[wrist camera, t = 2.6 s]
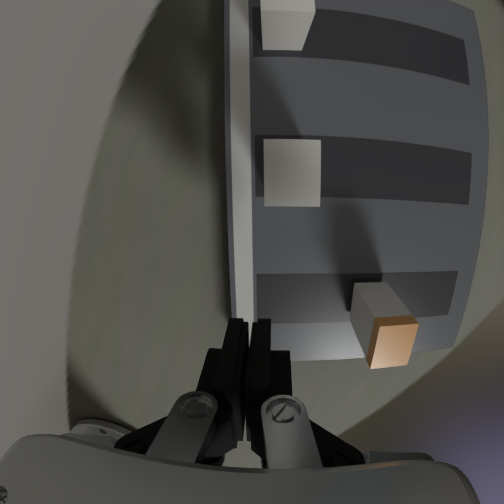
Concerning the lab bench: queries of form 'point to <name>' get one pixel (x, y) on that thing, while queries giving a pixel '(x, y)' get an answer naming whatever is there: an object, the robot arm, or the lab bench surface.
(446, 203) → the breaker panel
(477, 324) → the lab bench surface
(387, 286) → the breaker
